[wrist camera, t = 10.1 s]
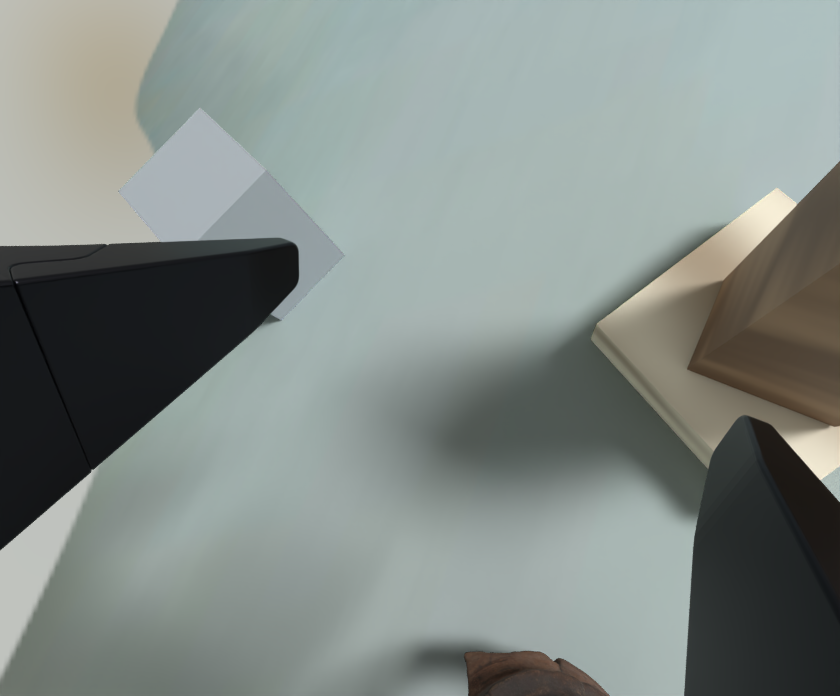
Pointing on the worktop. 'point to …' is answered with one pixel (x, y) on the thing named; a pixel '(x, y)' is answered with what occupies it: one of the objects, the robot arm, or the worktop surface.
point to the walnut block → (783, 313)
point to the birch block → (678, 337)
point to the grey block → (225, 200)
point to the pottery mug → (526, 676)
